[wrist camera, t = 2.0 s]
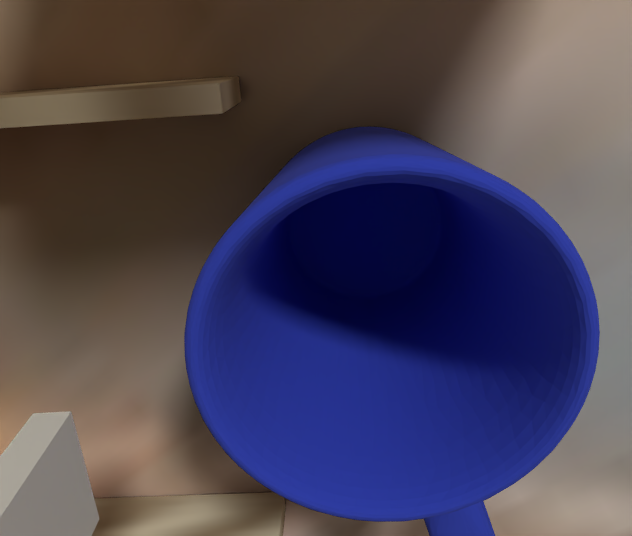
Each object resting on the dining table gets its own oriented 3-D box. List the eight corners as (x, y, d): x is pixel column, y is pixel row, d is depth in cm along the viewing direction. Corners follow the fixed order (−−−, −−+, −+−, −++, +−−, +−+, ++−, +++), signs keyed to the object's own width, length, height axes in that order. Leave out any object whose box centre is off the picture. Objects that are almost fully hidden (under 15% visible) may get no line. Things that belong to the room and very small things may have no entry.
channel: (238, 76, 19) (199, 90, 14) (285, 506, 26) (272, 636, 20) (-255, 110, 20) (-484, 137, 14) (-88, 518, 26) (-201, 647, 21)
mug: (335, 427, 24) (336, 672, 15) (211, 153, 20) (106, 251, 11) (532, 367, 23) (669, 593, 13) (441, 62, 19) (548, 83, 10)
